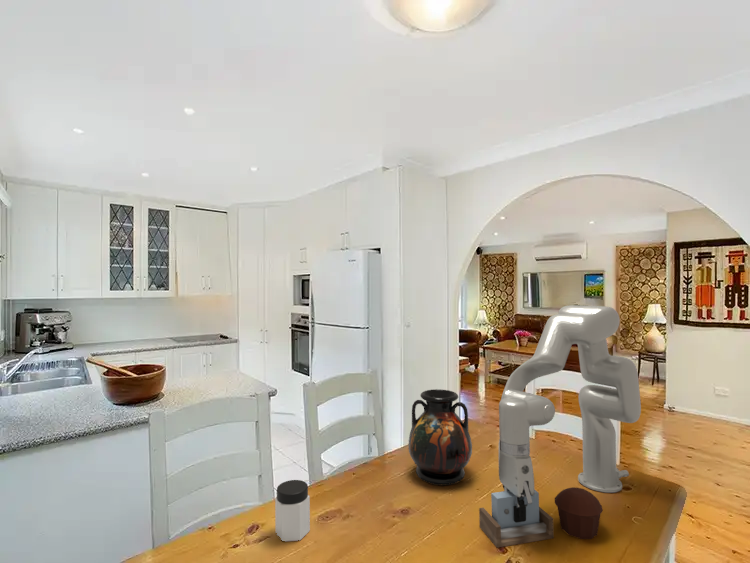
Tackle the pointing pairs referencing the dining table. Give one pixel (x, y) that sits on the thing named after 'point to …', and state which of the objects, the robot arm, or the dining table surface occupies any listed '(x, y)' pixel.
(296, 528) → the jar
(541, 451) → the dining table surface
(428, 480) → the amphora vase
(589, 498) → the muffin
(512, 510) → the door panel
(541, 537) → the wooden rack
